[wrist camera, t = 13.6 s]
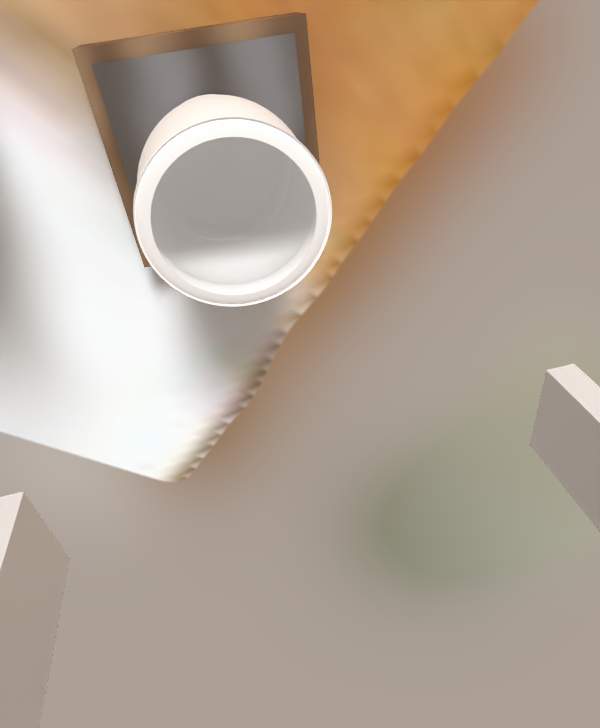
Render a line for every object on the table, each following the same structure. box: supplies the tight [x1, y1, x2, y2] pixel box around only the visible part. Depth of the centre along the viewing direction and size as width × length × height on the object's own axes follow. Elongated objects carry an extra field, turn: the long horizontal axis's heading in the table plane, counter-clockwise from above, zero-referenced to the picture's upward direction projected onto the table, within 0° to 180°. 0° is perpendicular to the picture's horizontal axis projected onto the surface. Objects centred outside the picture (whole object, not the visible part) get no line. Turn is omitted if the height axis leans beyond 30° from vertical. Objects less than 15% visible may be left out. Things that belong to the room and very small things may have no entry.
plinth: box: [72, 12, 320, 267], centre depth 40 cm, size 16×16×4 cm
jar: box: [133, 94, 332, 307], centre depth 33 cm, size 11×10×15 cm
